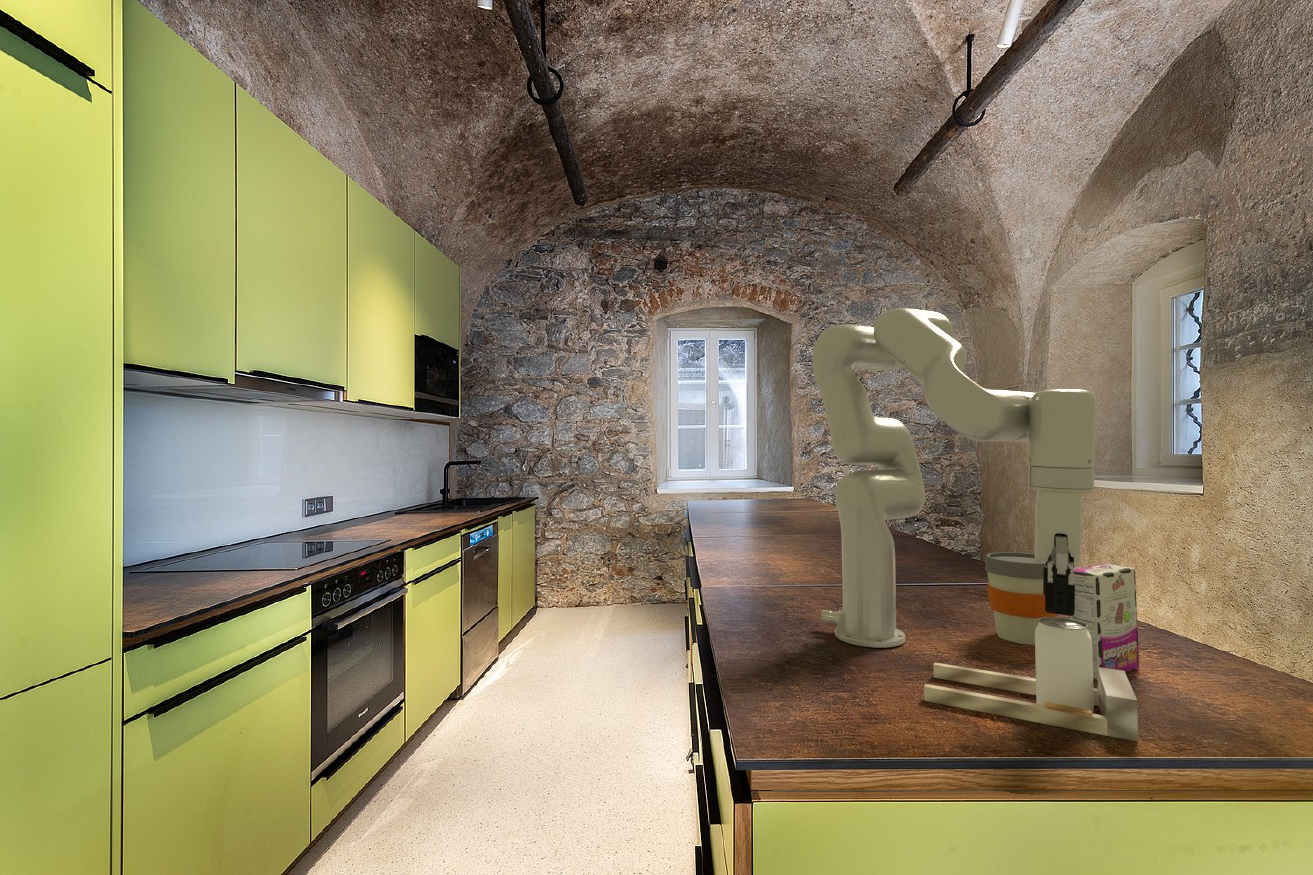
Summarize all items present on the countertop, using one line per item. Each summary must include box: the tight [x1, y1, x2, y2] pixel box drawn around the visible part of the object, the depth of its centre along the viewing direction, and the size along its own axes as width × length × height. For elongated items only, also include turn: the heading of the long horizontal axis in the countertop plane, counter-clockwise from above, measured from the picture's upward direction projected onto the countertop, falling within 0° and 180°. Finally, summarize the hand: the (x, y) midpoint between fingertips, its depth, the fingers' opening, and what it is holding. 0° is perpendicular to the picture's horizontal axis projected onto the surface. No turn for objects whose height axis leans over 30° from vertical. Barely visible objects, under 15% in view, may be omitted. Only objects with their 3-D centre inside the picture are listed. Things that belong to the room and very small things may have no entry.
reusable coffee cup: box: [984, 551, 1059, 646], centre depth 115 cm, size 12×12×15 cm
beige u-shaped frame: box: [923, 662, 1139, 742], centre depth 85 cm, size 24×11×5 cm, turn 59°
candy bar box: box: [1068, 563, 1141, 681], centre depth 98 cm, size 11×5×16 cm, turn 117°
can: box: [1034, 616, 1095, 714], centre depth 83 cm, size 6×6×12 cm
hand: (1057, 604), depth 84 cm, fingers open, 9 cm apart
